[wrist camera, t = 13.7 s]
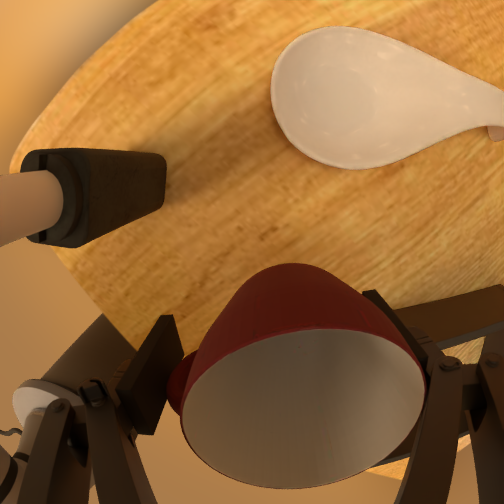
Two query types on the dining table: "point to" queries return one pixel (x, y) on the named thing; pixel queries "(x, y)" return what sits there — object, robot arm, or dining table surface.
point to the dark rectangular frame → (456, 335)
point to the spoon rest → (374, 98)
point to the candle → (78, 194)
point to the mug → (297, 383)
